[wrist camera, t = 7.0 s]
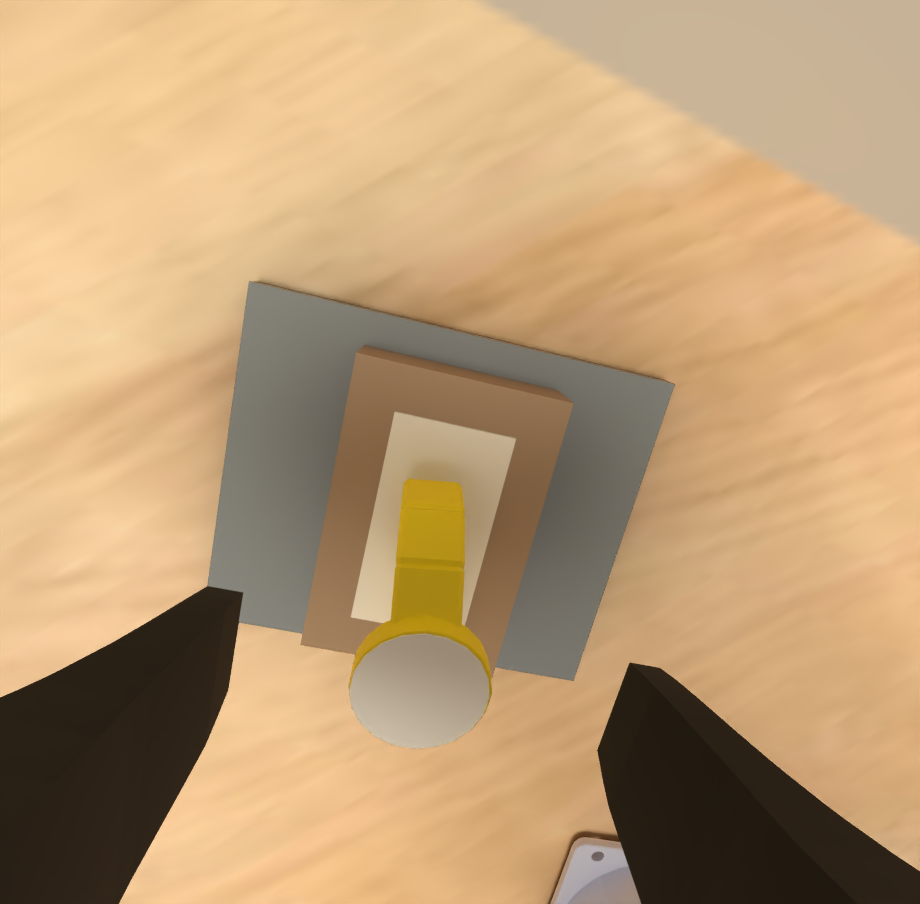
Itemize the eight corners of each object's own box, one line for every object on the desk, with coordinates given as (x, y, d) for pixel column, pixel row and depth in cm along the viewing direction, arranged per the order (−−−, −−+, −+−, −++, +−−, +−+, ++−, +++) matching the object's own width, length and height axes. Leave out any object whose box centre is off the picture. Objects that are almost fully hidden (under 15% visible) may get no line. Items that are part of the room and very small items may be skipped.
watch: (461, 635, 18) (474, 816, 12) (371, 630, 18) (342, 811, 12) (484, 454, 16) (511, 573, 10) (381, 446, 16) (354, 563, 10)
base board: (664, 380, 19) (705, 397, 16) (568, 666, 21) (588, 723, 19) (257, 281, 17) (223, 280, 14) (211, 603, 20) (176, 655, 17)
